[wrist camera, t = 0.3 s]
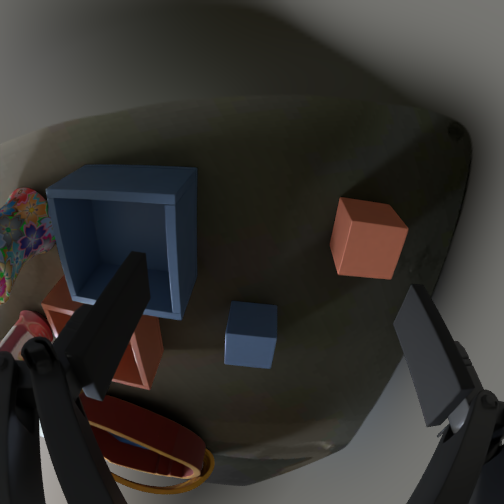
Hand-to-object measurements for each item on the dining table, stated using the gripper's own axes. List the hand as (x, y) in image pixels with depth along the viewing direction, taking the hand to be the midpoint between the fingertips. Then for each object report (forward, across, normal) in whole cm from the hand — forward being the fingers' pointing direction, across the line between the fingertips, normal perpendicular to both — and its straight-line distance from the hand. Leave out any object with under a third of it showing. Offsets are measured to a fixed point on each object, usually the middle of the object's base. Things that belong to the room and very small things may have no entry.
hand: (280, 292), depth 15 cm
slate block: (+14, -1, -15) cm, 21 cm away
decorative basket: (+15, -19, -50) cm, 55 cm away
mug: (+14, -29, -6) cm, 33 cm away
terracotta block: (+14, +8, -2) cm, 17 cm away
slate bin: (+14, -13, -4) cm, 20 cm away
